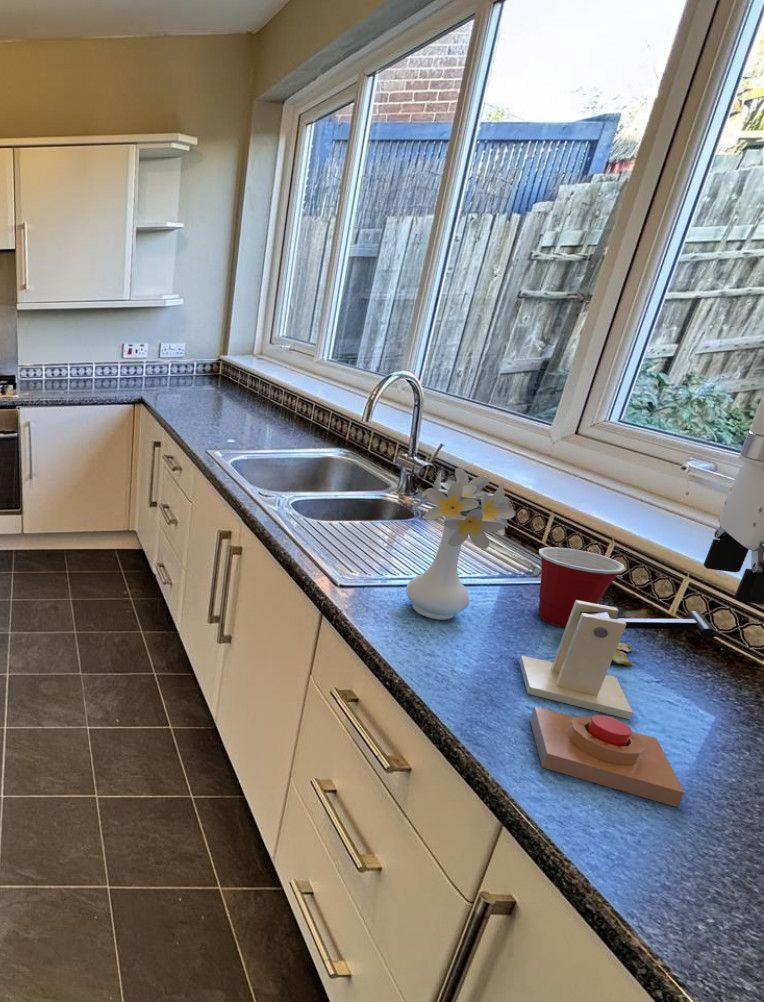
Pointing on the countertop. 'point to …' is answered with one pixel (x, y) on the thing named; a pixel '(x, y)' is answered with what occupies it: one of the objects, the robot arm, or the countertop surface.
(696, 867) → the countertop surface
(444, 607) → the flower vase
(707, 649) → the countertop surface
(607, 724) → the red button
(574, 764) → the control block
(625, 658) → the fruit
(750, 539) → the robot arm
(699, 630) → the black t-handle lever
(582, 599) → the plastic cup
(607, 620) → the lever bracket
